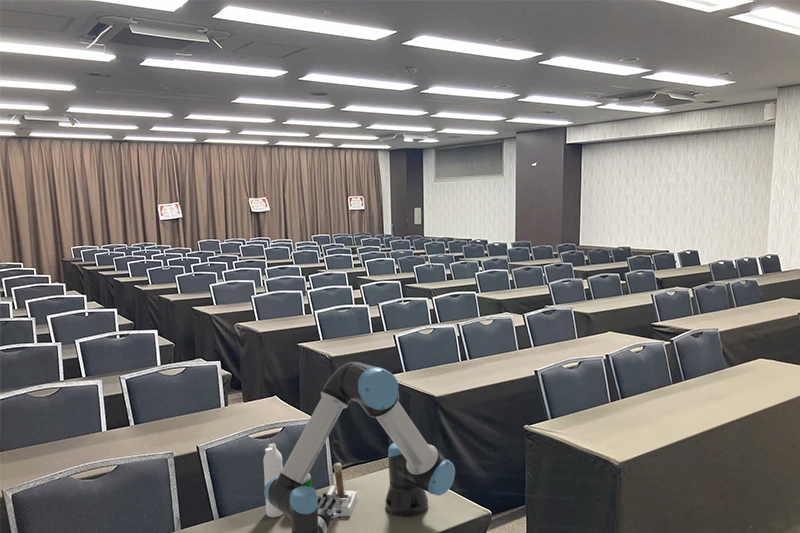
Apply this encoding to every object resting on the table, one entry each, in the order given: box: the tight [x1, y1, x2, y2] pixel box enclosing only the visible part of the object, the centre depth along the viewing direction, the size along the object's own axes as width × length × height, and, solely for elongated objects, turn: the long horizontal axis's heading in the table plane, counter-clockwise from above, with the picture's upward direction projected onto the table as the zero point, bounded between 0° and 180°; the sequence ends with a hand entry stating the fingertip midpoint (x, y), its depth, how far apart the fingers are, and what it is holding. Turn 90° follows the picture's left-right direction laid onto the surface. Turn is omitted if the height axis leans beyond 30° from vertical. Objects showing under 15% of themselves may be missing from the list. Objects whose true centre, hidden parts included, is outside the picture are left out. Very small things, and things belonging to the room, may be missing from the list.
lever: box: [333, 462, 348, 499], centre depth 201 cm, size 5×3×14 cm, turn 83°
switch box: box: [331, 489, 358, 517], centre depth 203 cm, size 9×12×5 cm
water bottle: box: [262, 442, 285, 518], centre depth 199 cm, size 9×6×25 cm
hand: (333, 489), depth 193 cm, fingers closed
